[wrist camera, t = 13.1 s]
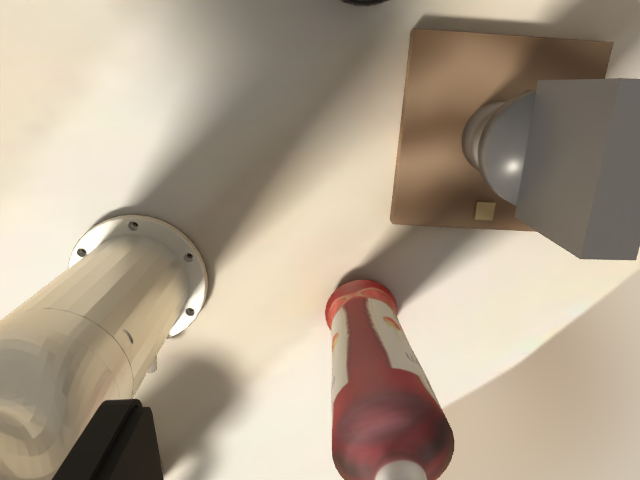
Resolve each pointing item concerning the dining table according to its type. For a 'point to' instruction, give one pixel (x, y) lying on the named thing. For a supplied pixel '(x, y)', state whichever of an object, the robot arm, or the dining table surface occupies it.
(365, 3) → the french press
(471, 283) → the dining table surface
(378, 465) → the red sauce bottle
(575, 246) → the lever handle
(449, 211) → the post mount
